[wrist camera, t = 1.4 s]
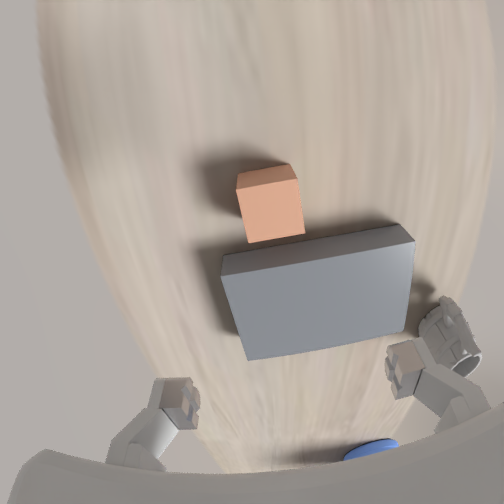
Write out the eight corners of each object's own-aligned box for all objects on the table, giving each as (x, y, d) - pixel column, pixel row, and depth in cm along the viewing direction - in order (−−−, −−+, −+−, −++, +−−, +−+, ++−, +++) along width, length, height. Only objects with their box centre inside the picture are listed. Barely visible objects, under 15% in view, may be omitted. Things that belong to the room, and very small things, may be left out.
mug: (415, 346, 42) (443, 405, 31) (414, 294, 36) (453, 359, 26) (454, 328, 40) (486, 382, 30) (459, 274, 35) (504, 331, 24)
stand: (223, 255, 33) (220, 276, 29) (400, 224, 31) (415, 241, 28) (247, 337, 39) (247, 360, 36) (393, 310, 37) (403, 330, 34)
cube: (238, 173, 28) (235, 189, 24) (289, 163, 28) (297, 178, 24) (248, 219, 31) (248, 243, 27) (297, 211, 30) (305, 233, 26)
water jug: (354, 464, 70) (367, 542, 46) (334, 454, 63) (346, 546, 39) (402, 445, 65) (422, 524, 41) (389, 432, 59) (412, 528, 35)
